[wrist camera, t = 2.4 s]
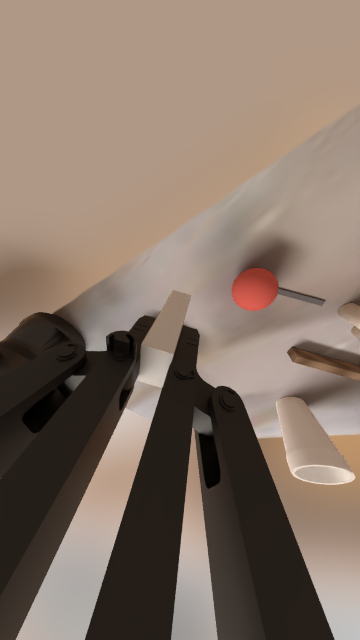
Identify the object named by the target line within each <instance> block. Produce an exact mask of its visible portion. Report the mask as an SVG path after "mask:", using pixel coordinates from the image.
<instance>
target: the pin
mask: <svg viewBox="0 0 360 640" xmlns="http://www.w3.org/2000/svg"><path fill="white" fill-rule="evenodd" d="M351 332H352V334H353V335H355V336H356V337H357V338H359V339H360V329H359V328H357V327H356V326H355V327H354V328H353V329H352V331H351Z"/></svg>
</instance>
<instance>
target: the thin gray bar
mask: <svg viewBox="0 0 360 640" xmlns="http://www.w3.org/2000/svg"><path fill="white" fill-rule="evenodd" d="M278 294H280V295H284V296H287V297H291V298H295V299H298V300H302V301H306V302H309V303H313V304H317V305H321V306H322V305H323V304H324V303H325V301H323V300H319V299H316V298H312V297H308V296H305V295H301V294H297V293H294V292H290V291H286V290H283V289H279V288H278Z"/></svg>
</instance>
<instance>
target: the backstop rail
mask: <svg viewBox="0 0 360 640" xmlns="http://www.w3.org/2000/svg"><path fill="white" fill-rule="evenodd" d="M287 353H288V355H289V356H290V358H291V360H292V361H293V362H295V363H298V364H302V365H305V366H309V367H313V368H316V369H320V370H323V371H327V372H330V373H334V374H337V375H341V376H345V377H348V378H352V379H355V380H359V381H360V366H358V365H354V364H351V363H347V362H343V361H340V360H336V359H333V358H329V357H326V356H322V355H318V354H315V353H311V352H308V351H304V350H300V349H297V348H293V347H291V349H290V350H289V351H288V352H287Z"/></svg>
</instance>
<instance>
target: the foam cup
mask: <svg viewBox="0 0 360 640" xmlns="http://www.w3.org/2000/svg"><path fill="white" fill-rule="evenodd" d="M276 408H277V413H278V417H279V422H280V427H281V431H282V436H283V440H284V445H285V450H286V454H287V456H286V459H287V462H288V465H289V468H290V471H291V473H292V474H293V475H294V477H296V478H298V479H301V480H303V481H307V482H311V483H316V484H328V485H330V484H344V483H348V482H351V481H353V480H354V479H355V476H354V474H353V472H352V470H351V468H350V466H349V465H348V463H347V461H346V459H345V458H344V456H343V455H341V454H340V452H339V451H338V449H337V448H336V447H335V445H334V443H333V442H332V441H331V439H330V438H329V436H328V435H327V433H326V432H325V431H324V429H323V428H322V426H321V425H320V423H319V422H318V421H317V419H316V418H315V416H314V415H313V413H312V412H311V410H310V409H309V408H308V406H307V405H306V403H305V402H304V401H303V400H302V399H300V398H298V397H284V398H281V399H279V400H278V401H277V402H276Z"/></svg>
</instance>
